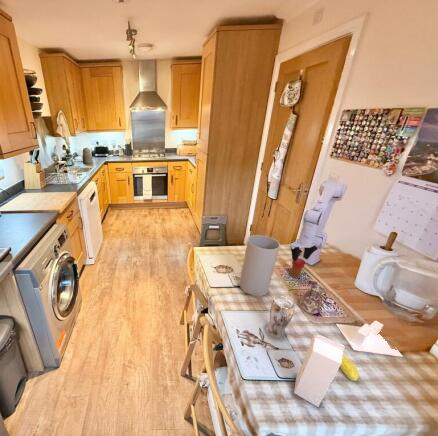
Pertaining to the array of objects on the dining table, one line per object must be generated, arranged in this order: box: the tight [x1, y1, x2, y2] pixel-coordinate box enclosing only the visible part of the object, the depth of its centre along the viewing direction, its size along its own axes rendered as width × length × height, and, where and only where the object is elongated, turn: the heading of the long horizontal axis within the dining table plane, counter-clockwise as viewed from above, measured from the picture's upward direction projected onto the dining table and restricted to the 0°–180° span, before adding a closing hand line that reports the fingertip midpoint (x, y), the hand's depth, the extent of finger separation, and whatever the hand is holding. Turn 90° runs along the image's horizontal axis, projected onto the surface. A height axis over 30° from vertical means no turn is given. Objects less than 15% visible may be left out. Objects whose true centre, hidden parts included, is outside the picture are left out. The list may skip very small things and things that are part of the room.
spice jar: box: [289, 264, 303, 279], centre depth 115 cm, size 4×4×8 cm
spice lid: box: [291, 258, 306, 269], centre depth 114 cm, size 5×5×2 cm
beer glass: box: [265, 295, 296, 340], centre depth 83 cm, size 7×7×15 cm
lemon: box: [339, 354, 359, 382], centre depth 73 cm, size 4×8×4 cm, turn 169°
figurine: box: [299, 281, 324, 315], centre depth 95 cm, size 7×7×12 cm
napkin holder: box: [335, 320, 404, 358], centre depth 82 cm, size 15×11×6 cm
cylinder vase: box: [238, 234, 281, 297], centre depth 103 cm, size 12×12×25 cm
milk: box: [293, 333, 346, 408], centre depth 64 cm, size 6×6×22 cm
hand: (299, 259), depth 113 cm, fingers open, 6 cm apart
